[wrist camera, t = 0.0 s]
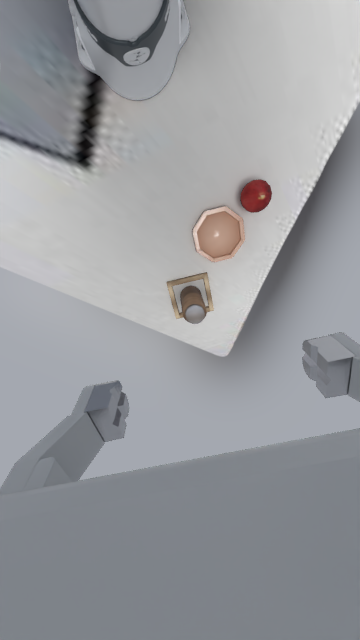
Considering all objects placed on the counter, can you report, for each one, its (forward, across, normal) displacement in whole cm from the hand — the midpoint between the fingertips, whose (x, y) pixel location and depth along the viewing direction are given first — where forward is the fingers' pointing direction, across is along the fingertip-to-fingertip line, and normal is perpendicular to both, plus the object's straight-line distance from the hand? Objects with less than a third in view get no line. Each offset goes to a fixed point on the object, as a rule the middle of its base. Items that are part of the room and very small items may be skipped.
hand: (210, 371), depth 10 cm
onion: (+48, -17, -4) cm, 51 cm away
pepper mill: (+48, 0, +15) cm, 50 cm away
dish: (+48, -9, +2) cm, 49 cm away
